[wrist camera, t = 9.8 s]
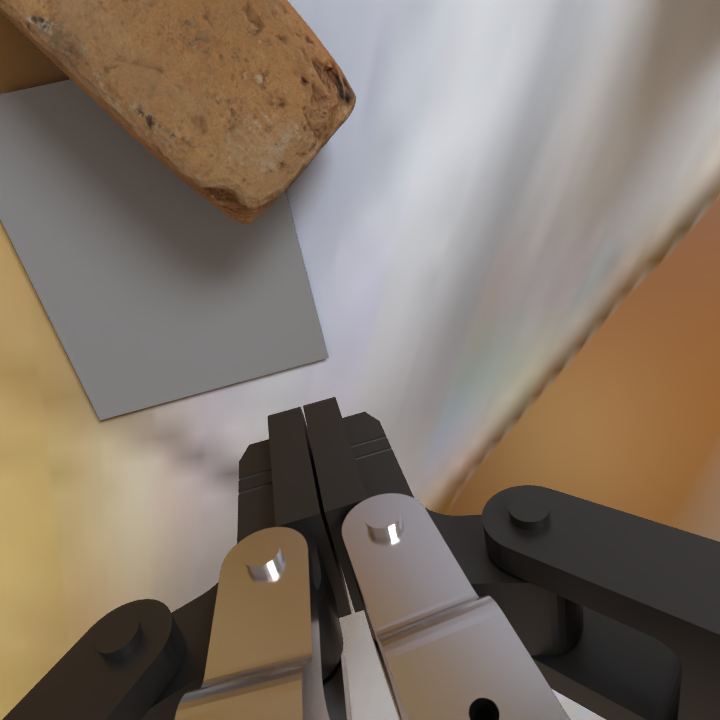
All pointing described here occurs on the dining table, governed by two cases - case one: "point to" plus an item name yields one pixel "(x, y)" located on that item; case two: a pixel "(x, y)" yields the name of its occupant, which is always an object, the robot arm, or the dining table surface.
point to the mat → (145, 260)
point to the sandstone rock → (202, 86)
